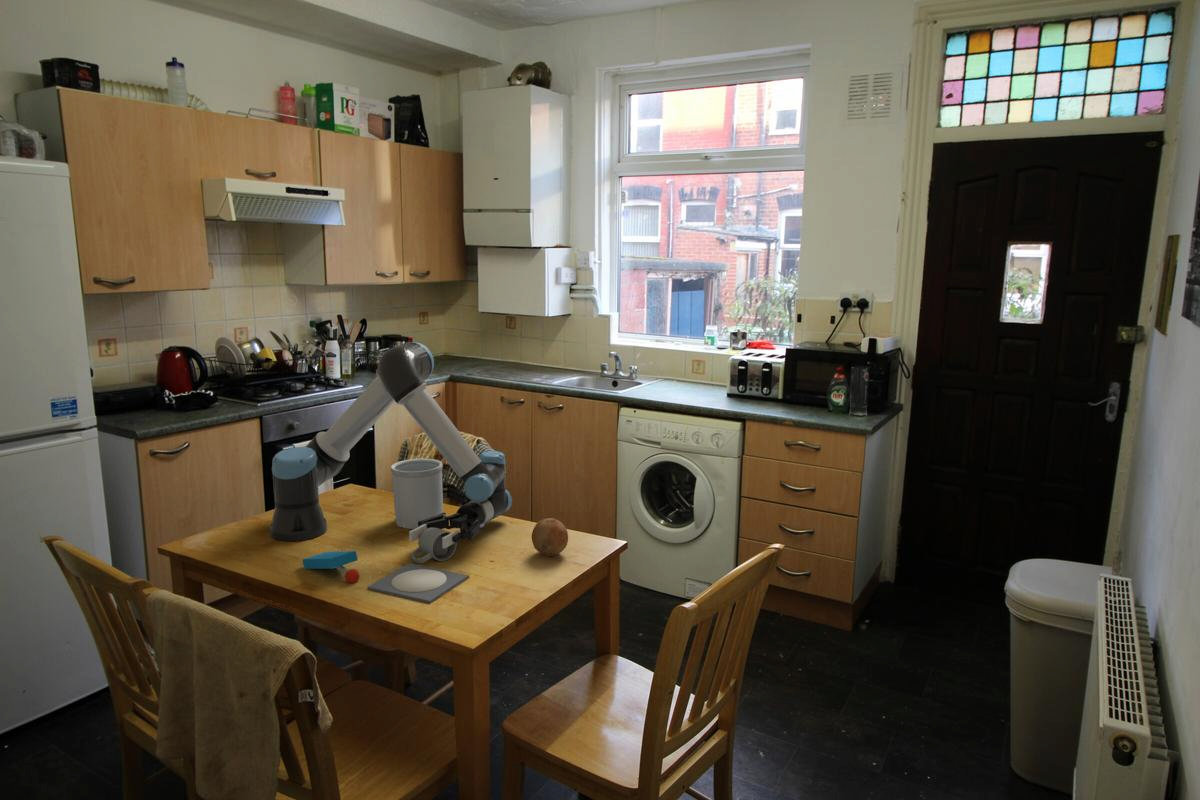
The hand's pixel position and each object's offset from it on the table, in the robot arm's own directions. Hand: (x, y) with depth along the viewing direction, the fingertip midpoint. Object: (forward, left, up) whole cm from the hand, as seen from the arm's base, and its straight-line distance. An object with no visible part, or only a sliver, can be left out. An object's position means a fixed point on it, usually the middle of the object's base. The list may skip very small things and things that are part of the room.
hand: (426, 540), depth 202 cm
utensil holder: (-21, +24, -6) cm, 33 cm away
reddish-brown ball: (+26, +18, -6) cm, 33 cm away
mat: (+6, -12, -6) cm, 14 cm away
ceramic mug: (0, +3, -6) cm, 7 cm away
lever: (-17, -15, -7) cm, 24 cm away
